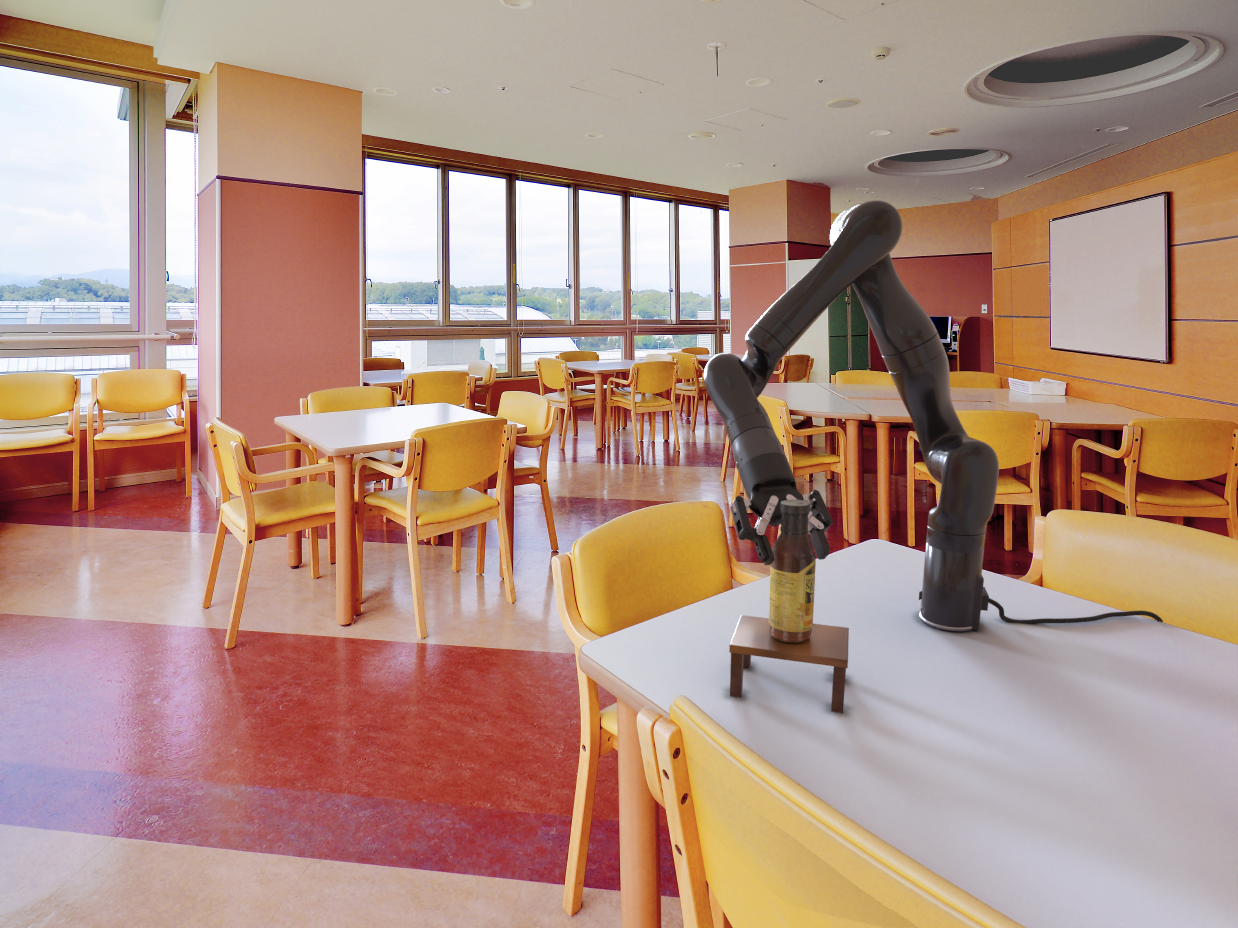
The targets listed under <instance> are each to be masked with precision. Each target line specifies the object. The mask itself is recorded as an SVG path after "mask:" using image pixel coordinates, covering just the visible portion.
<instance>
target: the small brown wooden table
mask: <svg viewBox="0 0 1238 928" xmlns="http://www.w3.org/2000/svg"><path fill="white" fill-rule="evenodd" d="M769 626H770V624H769V617H761V616H752V615H744V614H741V615H740V617H739V619H738V622H737V625H736V628H735V629H734V633H733V635H732V637H731V640H730V643H729V648H728V649H729V650H728V651H729V652H728V653H730V670H729V671H730V672H729V673H730V674H729V697H734V698H741V697H742V696H743V689H744V688H743V687H744V685H743V684H744V669H745V670H750V669H751V665H752V656H753V657H761V658H768V659H775V660H782V661H783V660H784V661H791V662H798V663H804V664H805V663H806V664H814V665H821V666H828V667H833V670H832V671H833V673H832V689H831V690H832V692H831V704H830V705H831V706H830V712H832V713H839V714H844V708H845V707H844V706H845V691H846V690H845V689H846V677H847V676H846V675H847V669H848V667H849V640H850V639H849V636H850V628H849V627H845V626H839V625H828V624H821V623H820V624H819V623H813V627H812V632H811V636H810V638H809V639H808V640H806V641H804V642H799V643H790V642H782V641H779V640H777V639H775V638H774V637H772V636H771V635H770V633H769Z"/></svg>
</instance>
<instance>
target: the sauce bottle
mask: <svg viewBox="0 0 1238 928" xmlns="http://www.w3.org/2000/svg"><path fill="white" fill-rule="evenodd" d="M780 512H781V524H780V527H779V529H780V533H779V536H778V537H777V538H776V540H775V541H774V543H773V545H772V546H771V549H772V552H773V554H774V561H773V562H772V564H771V565H770V567H769V568H770V569H769V570H770V572H769V596H768V597H769V599H768V600H769V601H768V618H769V624H770V626H769V633H770V635H771V636H772V637H774V638H775V639H777V640H779V641H782V642H790V643H799V642H804V641H806V640H808V639H809V638H810V636H811V632H812V627H813V624H814V610H815V609H814V607H815V586H816V567H817V565H816V561H817V555H816V552H815V550H814V547H813V544H812V542H811V539H810V538H811V537H810V535H809V534H808V515H809V512H810V503H809V502H806V501H803V500H784V501H782V502H781V505H780Z"/></svg>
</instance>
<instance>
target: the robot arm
mask: <svg viewBox="0 0 1238 928" xmlns="http://www.w3.org/2000/svg"><path fill="white" fill-rule="evenodd" d="M902 233H903V219H902V216H901V214H900V212H899V210H898V209H897V208H896V207H895V206H894V205H893V204H892V203H890V202H887V201H885V200H880V199H872V200H866V201H863V202H861V203H858V204H856V205H853V206H851V207H848V208H847V209H845V210H843V211H842V212H840V213H839V214H838V215H837V217H836V218H835V219H834V221H833V222H832V224H831V228H830V231H829V242H830V247H829V248H828V250H827V251H826V252H825V254H823V255H822V257H821V258H820V259H819V260H818V262H816V264H814V265H813V266H812V268H810V270H808V271H807V273H806V274H804V275H803V276H802V277H801V278H800V279H798V281H796V282H795V283H794V284H793V285H791V286H790V287H789V288H788V289H787V290H786V291H784V293H782V294H781V296H779V297H778V298H777V299H776V300H775V301H774V302H773V304H771V305H770V306H769V307H768V308H767V309H766V311H765V312H764V313H763V314H762V315H761V316H760V317H759V319H757V321H756V322H755V323H754V324H753V326H751V327H750V328H749V330H748V331H747V332H746V334H745V338H744V341H745V345H746V352H745V354H744V356H743V358H742V359H741V358H740V357H739V356H738V355H736V354H734V353H730V352H719V353H717V354H716V355H714V356H713V357H711V358H710V359H709V360H708V362H707V363H706V365H705V367H704V371H703V382H704V386H705V389H706V391H707V394H708V395H709V398H710V400H711V402H712V404H713V406H714V408H715V410H716V411H717V413H718V415H719V417H720V419H721V420H722V423H723V425H724V428H725V429H724V430H725V433H726V436H727V439H728V441H729V444H730V447H731V450H732V456H733V459H734V463H735V467H736V470H737V472H738V475H739V478H740V481H741V484H742V486H743V489H744V493H745V495H746V497H747V498H744V497H743V496H741V495H737V496H735V498H734V500H733V501H732V502H731V504H730V511H731V515H732V519H733V523H734V527H735V530H736V535H737V537H738V539H739V540H740V541H745V540H748V541H751V542H752V543H753V545H754V549H755V551H756V554H757V557H758V559H759V561H760V562H761V563H763V564H764V566H771V564H772V562H773V561H774V554H773V552H772V546H771V543H770V540H769V538H768V535H765V533H766V530H767V528H768V525H770V526H771V527H772V528H773V527H778V526H781V512H780V505H781V502H782V501H784V500H803V501H806V502H809V503H810V512H809V515H808V534H809V538H810V541H811V544H812V547H813V550H814V553H815V556H816V558H817V559H818V560H819V561H821V560H825V559H826V558H827V557H828V556H829V554H830V551H831V546H830V544H829V541H828V539H827V536H826V534H825V533H826V532H827V531H828V529H829V528H830V527H831V526H832V525H833V524H834V519H833V517H832V515H831V513H830V511H829V509H828V507H827V505H826V503H825V500H824V499H823V496H822V494H821V492H820V491H819V490H818V489H813V490H812V492H810V493H804V494H803V493H801V492H800V490H798V487H797V481H796V478H795V475H794V473H793V471H792V468H791V465H790V463H789V460H788V458H787V455H786V452H785V450H784V447H783V445H782V443H781V441H780V439H779V437H778V436H777V433H776V432H775V430H774V429H775V428H774V427H773V424H772V422H771V419H770V417H769V415H768V412H767V410H766V409H765V407H764V406H763V405H762V403H761V402H760V400H759V399H758V398H759V397H760V396H761V394H762V393H763V391H764V390H765V388H766V387H767V385H768V383H769V381H770V379H771V377H772V376H773V374H774V372H775V370H776V369H777V367H778V365H779V362H780V361H781V360H782V358H783V357H785V355H786V354H787V353H788V352H789V351H790V350H791V349H792V348H793V347H794V346H795V344H797V342H798V341H799V340H800V339H801V338H802V337H803V335H804V334H805V333H806V332H807V331H808V330H809V329H810V328H811V326H812V325H813V324H814V323H815V322H817V320H818V319H819V318H820V317H821V315H822V314H823V313H824V312H825V311H826V310H827V309H828V308H829V307H830V306H831V305H832V304H833V302H835V301H836V300H837V299H838V298H839V297H840V295H842V294H843V293H844V292H845V291H846V290H847V289H848V288H849V287H851V286H852V288H853V289H854V291H855V293H856V295H857V297H858V300H859V302H860V304H861V307H862V309H863V311H864V315H865V317H866V320H867V322H868V325H869V327H870V330H871V332H872V335H873V337H874V339H875V341H876V344H877V348H878V349H879V352H880V355H881V357H882V359H883V362H884V364H885V366H886V369H887V371H888V373H889V375H890V377H891V379H892V382H893V383H894V386H895V388H896V390H897V392H898V394H899V397H900V400H901V402H902V403H903V405H904V407H905V410H906V411H907V413H908V414H909V417H910V419H911V422H912V424H913V427H914V431H915V434H916V437H917V440H918V444H919V447H920V450H921V454H922V457H923V462H924V464H925V466H926V469H927V471H928V473H929V474H930V475H931V477H932V478H933V480H935V481H936V482H938V483H939V484H941V486H940V494H939V500H938V505H937V506H934V507H932V508H931V509H930V510H929V512H928V516H927V527H926V537H925V538H926V539H925V550H924V551H925V552H924V561H923V575H922V588H921V590H920V591H919V593H918V601H920V608H919V609H920V610H919V619H920V621H921V622H923V623H924V624H925V625H927V626H929V627H932V628H935V629H939V630H943V631H949V632H958V633H959V632H970V631H977V632H978V631H980V623H981V612H982V611H984V612H985V611H986V612H987V611H988V610H989V604H990V605H992V606H994V607H995V608H996V609H997V610H998V616H999V618H1000V619H1001V620H1002V621H1003V622H1006V623H1010V624H1025V625H1036V624H1037V625H1038V624H1075V623H1087V622H1088V623H1089V622H1096V621H1100V620H1104V619H1108V618H1116V617H1118V618H1119V617H1121V618H1122V617H1132V616H1133V617H1134V616H1146V617H1149V618H1152V619H1154V620H1155V621H1156V622H1159V623H1164V620H1163V618H1161V617H1160V616H1159V615H1158V614H1156V613H1154V612H1152V611H1148V610H1127V611H1113V612H1112V611H1111V612H1106V613H1101V614H1097V615H1094V616H1085V617H1065V618H1064V617H1063V618H1053V617H1051V618H1048V617H1047V618H1032V619H1014V618H1010V617H1008V616H1006V615H1005V609H1004V607H1003V606H1002V605H1001V604H1000V603H999V602H997V601H996V600H994V599H993V598H990V595H989V593H988V591H987V589H986V586H984V584H985V578H984V576H983V565H984V554H985V543H986V535H987V527H988V526H987V525H988V523H989V521H990V519H991V518H992V515H993V513H994V509H995V503H996V496H997V491H998V490H997V489H998V484H999V483H998V482H999V475H1000V473H999V472H1000V465H999V464H1000V463H999V458H998V454H997V453H996V451H995V450H994V448H993V447H992V446H991V445H989V444H988V443H987V442H985V441H983V440H980V439H977V438H973V437H971V436H969V433H967V431H966V430H965V428H964V426H963V424H962V422H961V420H960V419H959V415H958V414H957V411H956V410H955V407H954V404H953V401H952V395H951V371H950V362H949V358H948V355H947V352H946V349H945V347H944V344H943V341H942V340H941V337H940V334H939V332H938V330H937V328H936V326H935V324H934V322H933V320H932V319H931V317H930V316H929V315H928V313H927V312H926V310H925V309H924V308H923V307H922V305H921V304H920V303H919V301H918V300H917V299H916V298H915V297H914V295H913V294H912V293H911V292H910V291H909V290H908V289H907V287H906V286H905V284H904V283H903V281H902V279H901V278H900V275H899V274H898V272H897V269H896V267H895V265H894V262H893V259H892V256H891V252H892V251H893V250H894V249H895V248H896V247H897V246H898V243H899V242H900V239H901V237H902ZM749 511H751V512H752V513H754V515H756V516H757V517H758V518H757V520H756V523H755V525H754V527H752V524H751V521H750V517H749V514H748V512H749Z"/></svg>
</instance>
